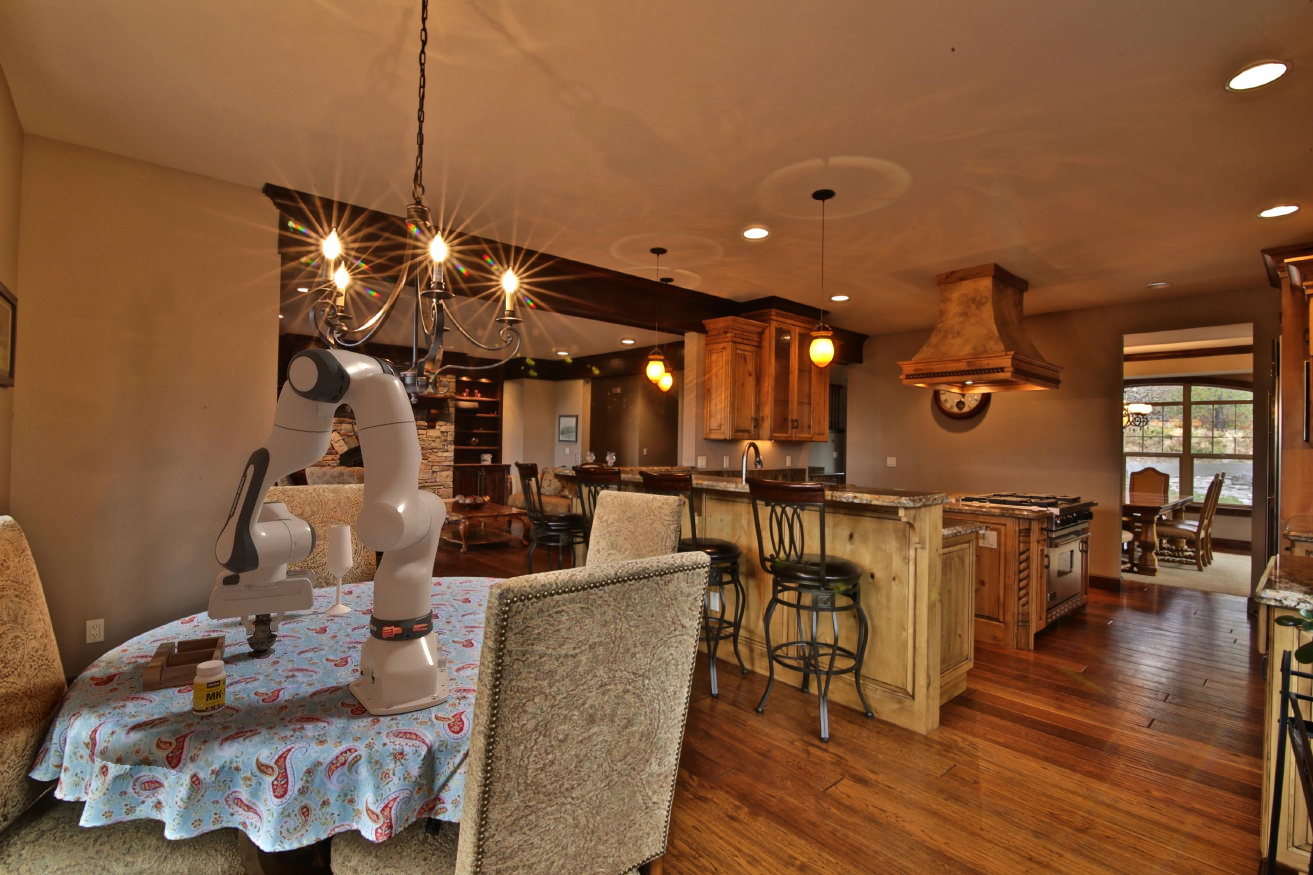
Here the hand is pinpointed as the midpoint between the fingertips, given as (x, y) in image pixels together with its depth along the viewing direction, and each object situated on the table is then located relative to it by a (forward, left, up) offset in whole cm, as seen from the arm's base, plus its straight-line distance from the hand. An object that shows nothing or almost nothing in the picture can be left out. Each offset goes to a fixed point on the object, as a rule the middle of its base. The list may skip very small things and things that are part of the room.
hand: (262, 633), depth 137 cm
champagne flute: (+28, -17, -5) cm, 33 cm away
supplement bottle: (-28, +7, -5) cm, 29 cm away
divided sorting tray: (-4, +13, -5) cm, 14 cm away
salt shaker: (0, 0, -5) cm, 5 cm away
